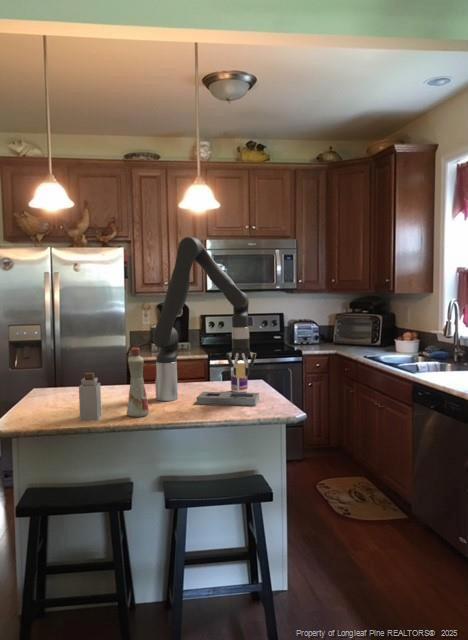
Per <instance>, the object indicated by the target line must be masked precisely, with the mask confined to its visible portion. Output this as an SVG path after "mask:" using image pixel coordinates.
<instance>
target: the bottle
mask: <svg viewBox="0 0 468 640" xmlns="http://www.w3.org/2000/svg"><path fill="white" fill-rule="evenodd" d="M140 349H141V348H140V347H137V346H133V347H131V349H130V351H131V352H130V354H131V356H130V358H129V359H128V361H127V362H128V368H129V373H130V383H129V391H128V392H129V393H128V401H127V402H128V403H127V408H126V415H128V416H129V417H132V418H143V417H146V416H148V415H149V412H150V407H149V404H148V403H149V402H148V397H147V392H146V387H145V381H144V376H143V375H144V373H143V372H144V363H145V360H144V358H143V357H142V356H141V351H140Z"/></svg>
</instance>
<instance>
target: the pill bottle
mask: <svg viewBox="0 0 468 640" xmlns="http://www.w3.org/2000/svg"><path fill="white" fill-rule="evenodd" d="M232 363H233V364H234V361H232ZM238 363H244V361H242V360H239V361H238ZM248 386H249V385H248V376H247V377H246V378H236V376H235V375H234V368H233V367H230V389H231V390H230V391H232V392H240V393H247V391H248V390H249V388H248Z"/></svg>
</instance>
